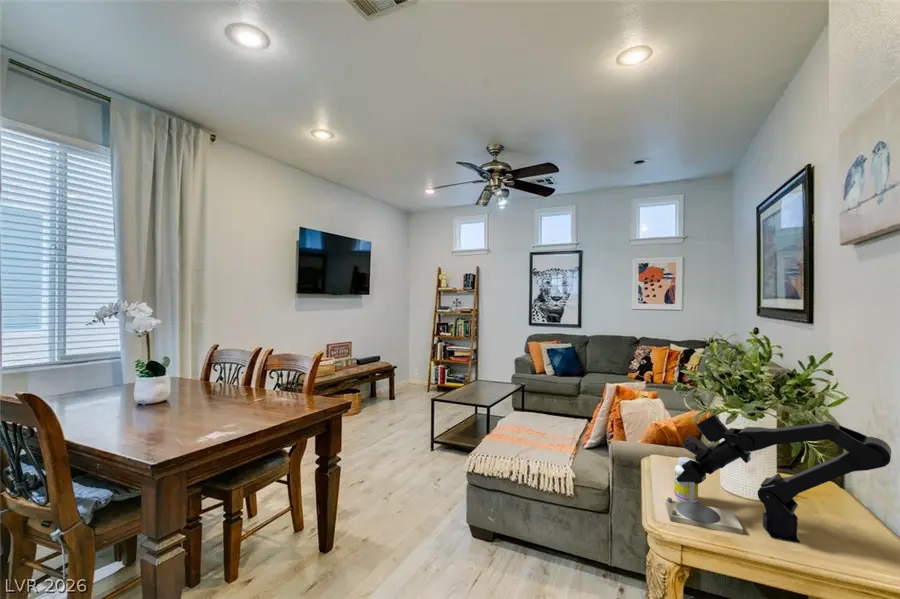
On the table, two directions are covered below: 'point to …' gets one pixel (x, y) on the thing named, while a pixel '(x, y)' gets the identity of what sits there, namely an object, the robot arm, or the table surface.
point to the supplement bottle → (684, 485)
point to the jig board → (702, 516)
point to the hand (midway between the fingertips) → (681, 477)
